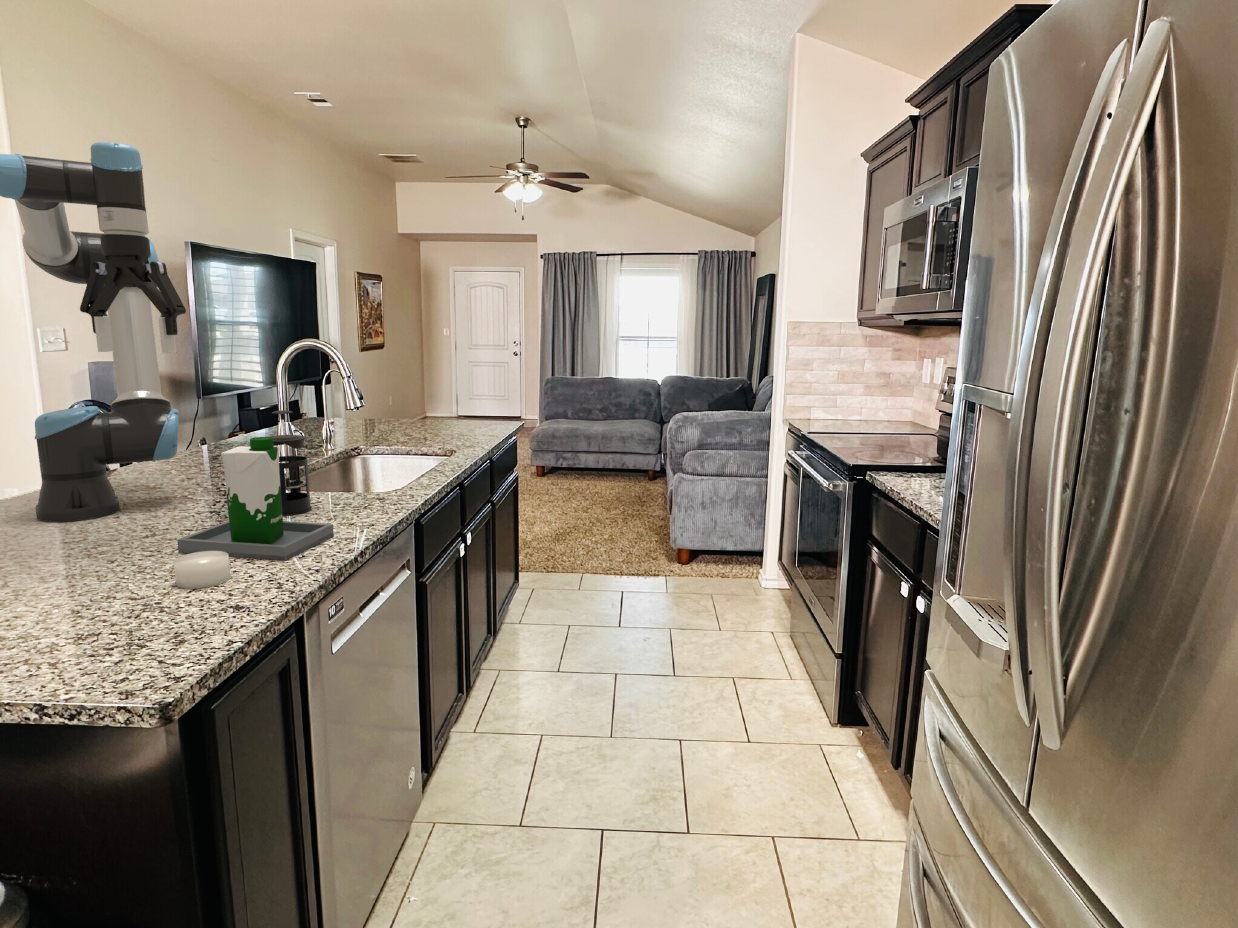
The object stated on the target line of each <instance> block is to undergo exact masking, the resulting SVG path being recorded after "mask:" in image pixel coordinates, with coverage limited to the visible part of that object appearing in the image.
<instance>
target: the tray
mask: <svg viewBox="0 0 1238 928" xmlns="http://www.w3.org/2000/svg"><path fill="white" fill-rule="evenodd" d="M283 534H284V535H282V536H281V537H280V538H279V539H277V540H276V541H275V542H273V543H272V544H271V545H270V544H255V543H241V542H231V534H230V525H229V520H226V521H224V522H222V523H218V524H216V525H212V526H211V527H207V528H205V529H202V530H200V531H199V530H198V531H197V532H194V533H192V534H189V535H186V536H184V537H181V538H179V539H176V542H177V552H178V553H179V554H190V553H195V552H202V551H222V552H226V553H228V555H229V558H230V557H233V558H245V559H246V558H247V559H248V558H249V559H258V560H260V559H261V560H262V559H263V560H272V561H273V560H274V561H287V560H289V559H291V558H293V557H295V556H297V555H299V554H302V553H304V552H306V551H308V550H309V549H311V548H313V547H315V546H317V545H319V544H321V543H323V542H325V541H326V540H329V539H331V538H333V537H334V535H335V534H334V524H333V523H318V522H305V521H304V522H301V521H288V520H287V521H286V520H283Z"/></svg>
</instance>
